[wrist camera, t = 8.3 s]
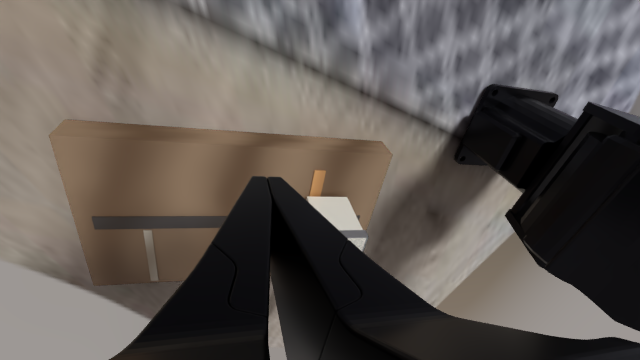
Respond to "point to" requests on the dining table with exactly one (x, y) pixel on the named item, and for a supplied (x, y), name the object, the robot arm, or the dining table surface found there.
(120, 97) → the dining table surface
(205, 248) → the fader console
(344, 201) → the fader tab
